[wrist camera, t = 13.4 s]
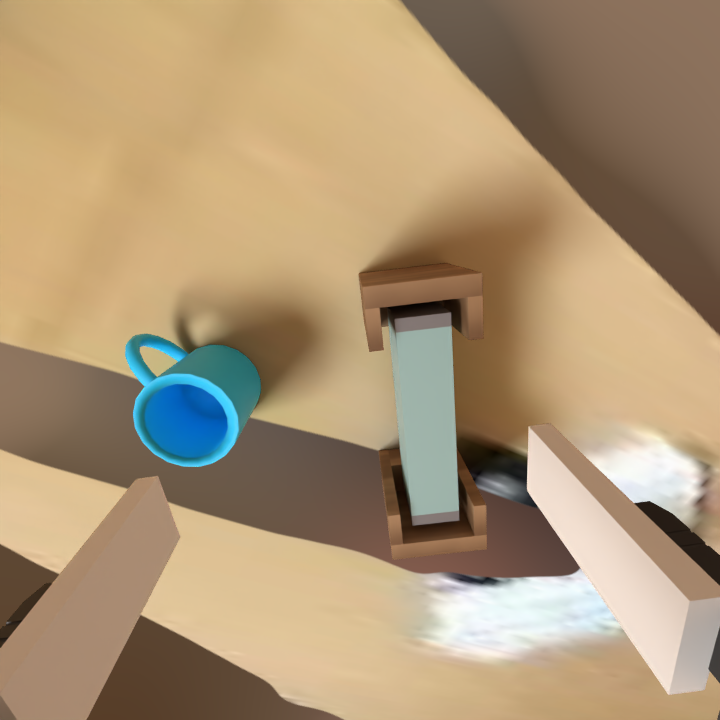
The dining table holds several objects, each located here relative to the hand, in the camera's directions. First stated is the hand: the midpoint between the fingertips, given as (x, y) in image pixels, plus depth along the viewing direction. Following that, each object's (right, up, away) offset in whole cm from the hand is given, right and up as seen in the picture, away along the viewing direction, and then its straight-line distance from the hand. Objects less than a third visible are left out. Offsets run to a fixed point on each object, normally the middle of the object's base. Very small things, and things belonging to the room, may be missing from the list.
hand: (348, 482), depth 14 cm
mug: (-15, +3, +24) cm, 28 cm away
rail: (+6, +1, +22) cm, 23 cm away
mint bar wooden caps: (+6, +2, +25) cm, 25 cm away
